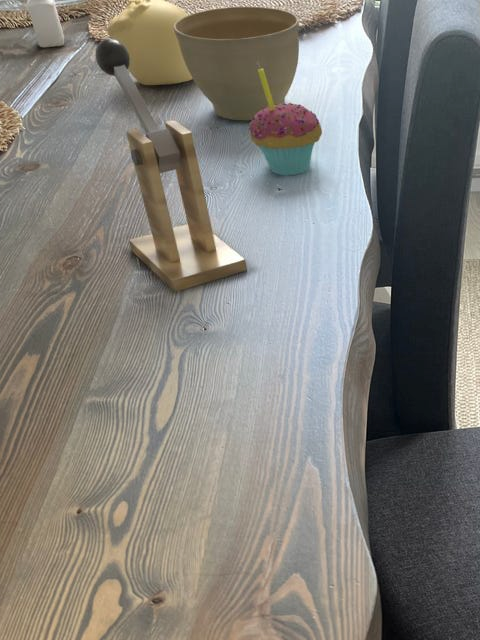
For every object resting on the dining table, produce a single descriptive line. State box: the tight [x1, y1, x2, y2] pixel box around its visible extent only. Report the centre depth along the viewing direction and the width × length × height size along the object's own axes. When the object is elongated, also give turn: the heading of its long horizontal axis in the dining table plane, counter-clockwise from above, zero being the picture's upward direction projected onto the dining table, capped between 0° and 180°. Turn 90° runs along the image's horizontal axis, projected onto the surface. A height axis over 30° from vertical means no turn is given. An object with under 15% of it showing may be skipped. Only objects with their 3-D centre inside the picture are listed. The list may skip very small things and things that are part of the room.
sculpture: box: [107, 0, 193, 86], centre depth 146 cm, size 12×12×11 cm
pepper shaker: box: [26, 0, 65, 49], centre depth 161 cm, size 4×4×10 cm
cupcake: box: [248, 62, 323, 176], centre depth 120 cm, size 9×8×12 cm
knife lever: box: [94, 38, 180, 174], centre depth 99 cm, size 14×3×3 cm
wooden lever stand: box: [125, 119, 248, 293], centre depth 101 cm, size 12×8×13 cm, turn 35°
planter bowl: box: [174, 6, 300, 122], centre depth 135 cm, size 16×16×11 cm
